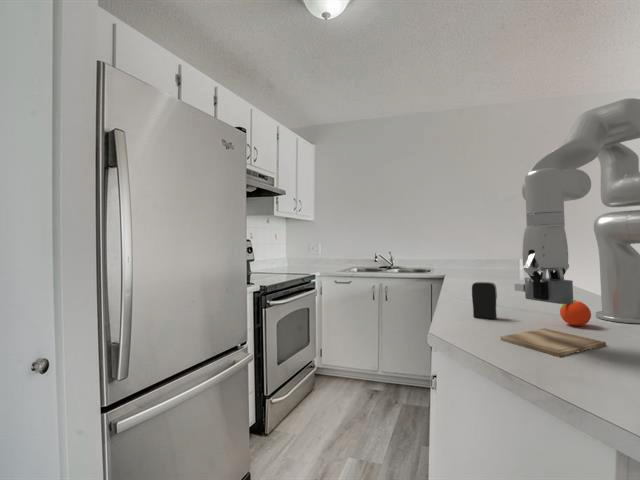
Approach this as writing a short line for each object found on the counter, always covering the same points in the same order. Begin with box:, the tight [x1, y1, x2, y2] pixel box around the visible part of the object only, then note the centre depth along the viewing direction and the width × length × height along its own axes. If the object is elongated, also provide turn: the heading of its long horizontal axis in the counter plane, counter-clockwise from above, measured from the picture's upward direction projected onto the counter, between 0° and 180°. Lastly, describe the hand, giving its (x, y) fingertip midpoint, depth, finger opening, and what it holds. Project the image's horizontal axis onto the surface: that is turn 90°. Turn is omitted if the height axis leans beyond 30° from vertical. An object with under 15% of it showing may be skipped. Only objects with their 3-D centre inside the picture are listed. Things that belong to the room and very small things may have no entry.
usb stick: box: [514, 277, 574, 305], centre depth 80 cm, size 13×4×5 cm, turn 21°
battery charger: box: [471, 281, 498, 320], centre depth 106 cm, size 7×4×11 cm, turn 53°
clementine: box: [559, 299, 592, 327], centre depth 92 cm, size 8×7×7 cm
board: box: [500, 327, 607, 357], centre depth 79 cm, size 16×14×1 cm
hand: (548, 297), depth 79 cm, fingers closed on usb stick, 4 cm apart
